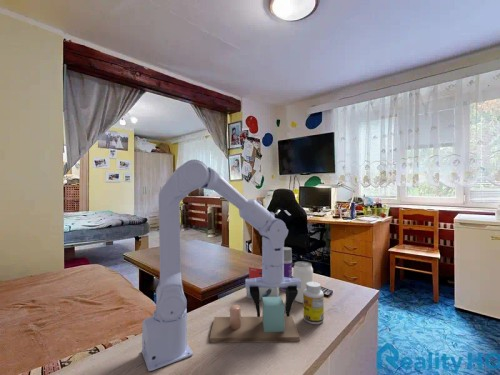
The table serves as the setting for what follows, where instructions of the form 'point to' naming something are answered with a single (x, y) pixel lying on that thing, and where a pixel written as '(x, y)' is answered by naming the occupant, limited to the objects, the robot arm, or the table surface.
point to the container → (287, 264)
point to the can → (302, 277)
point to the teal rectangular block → (273, 314)
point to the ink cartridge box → (263, 291)
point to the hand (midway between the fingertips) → (272, 314)
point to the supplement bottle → (313, 303)
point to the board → (251, 331)
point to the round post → (235, 317)
